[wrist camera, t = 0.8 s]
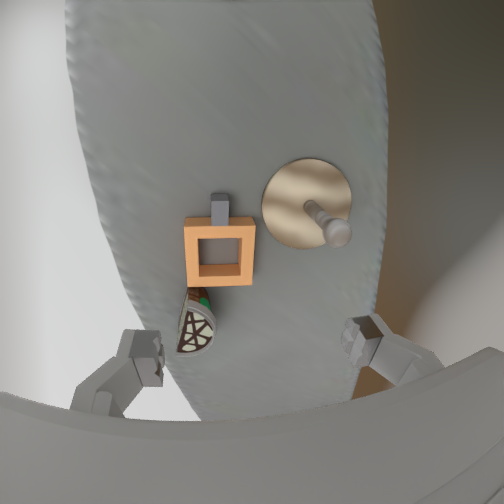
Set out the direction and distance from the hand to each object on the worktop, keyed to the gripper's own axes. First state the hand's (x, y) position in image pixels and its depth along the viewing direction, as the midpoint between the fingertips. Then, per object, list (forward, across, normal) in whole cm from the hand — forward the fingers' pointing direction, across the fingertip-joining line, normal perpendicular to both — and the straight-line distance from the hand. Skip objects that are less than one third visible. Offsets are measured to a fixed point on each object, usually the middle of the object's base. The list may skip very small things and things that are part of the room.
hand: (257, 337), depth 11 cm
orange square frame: (+35, 0, +10) cm, 37 cm away
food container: (+36, +4, +24) cm, 44 cm away
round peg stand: (+35, -15, +4) cm, 38 cm away
